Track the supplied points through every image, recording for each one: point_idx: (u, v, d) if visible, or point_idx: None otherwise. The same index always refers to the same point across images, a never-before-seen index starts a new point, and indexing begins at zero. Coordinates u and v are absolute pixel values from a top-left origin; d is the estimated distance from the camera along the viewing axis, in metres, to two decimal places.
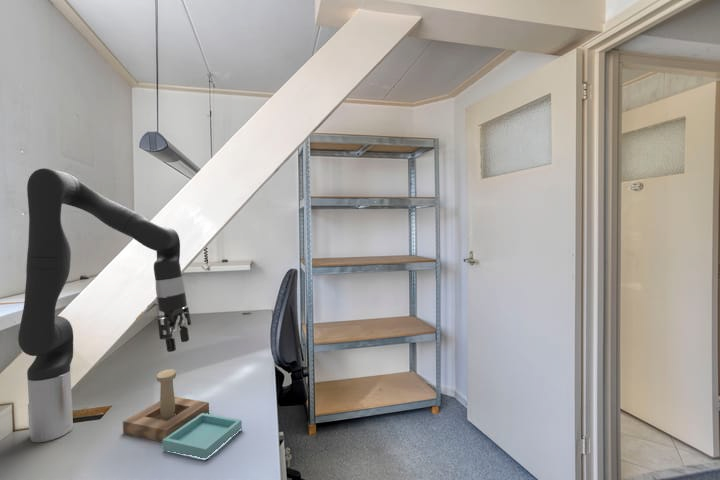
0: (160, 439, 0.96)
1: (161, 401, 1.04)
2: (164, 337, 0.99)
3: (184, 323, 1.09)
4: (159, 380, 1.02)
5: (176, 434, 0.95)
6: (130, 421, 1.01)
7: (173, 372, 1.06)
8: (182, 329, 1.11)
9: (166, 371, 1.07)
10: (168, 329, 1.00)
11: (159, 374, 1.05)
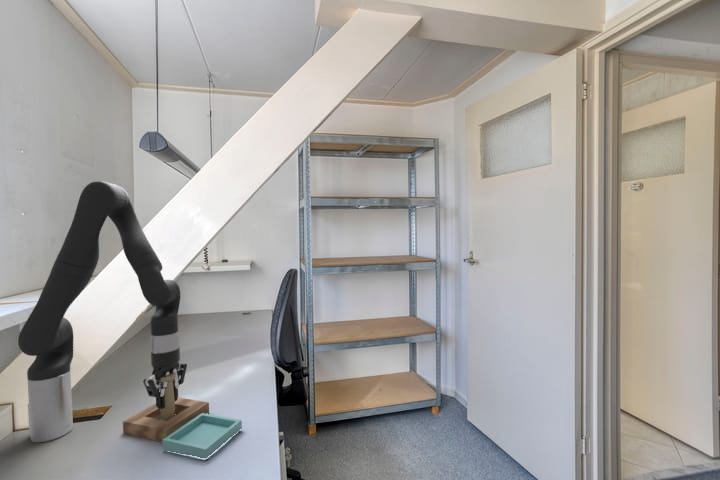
0: (160, 439, 0.96)
1: None
2: (152, 395, 1.01)
3: (174, 380, 1.07)
4: None
5: (176, 434, 0.95)
6: (130, 421, 1.01)
7: None
8: None
9: None
10: (154, 390, 1.00)
11: None
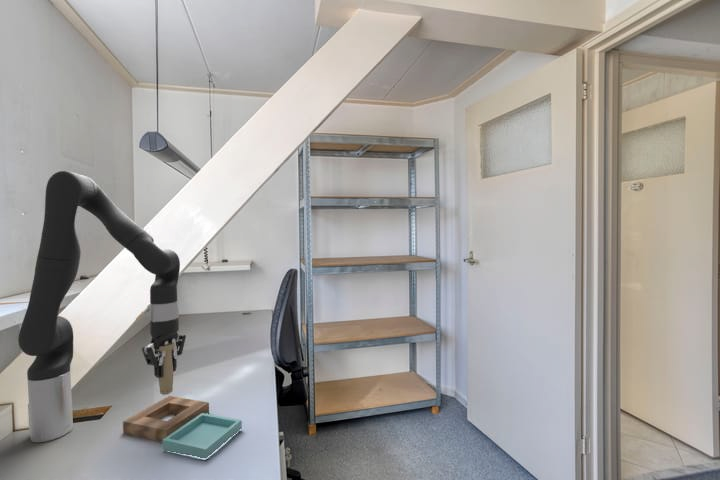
0: (160, 439, 0.96)
1: None
2: (150, 363, 1.01)
3: (172, 351, 1.06)
4: (158, 349, 1.02)
5: (176, 434, 0.95)
6: (130, 421, 1.01)
7: None
8: None
9: None
10: (153, 358, 1.00)
11: None
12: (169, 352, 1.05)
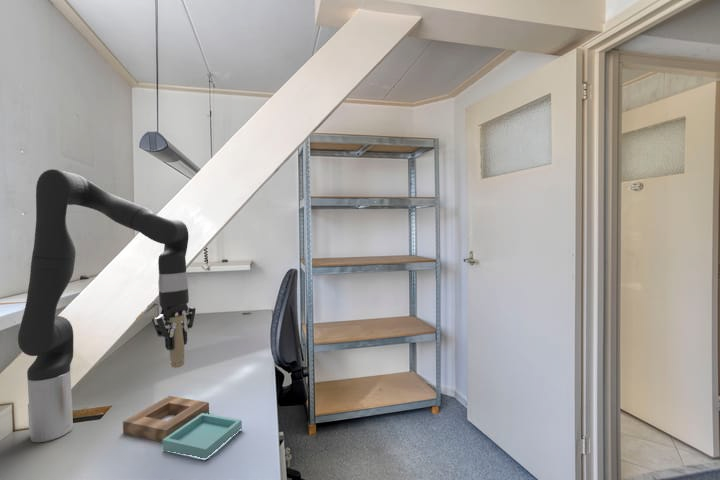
0: (160, 439, 0.96)
1: None
2: (161, 335, 0.98)
3: (183, 323, 1.04)
4: None
5: (176, 434, 0.95)
6: (130, 421, 1.01)
7: None
8: None
9: None
10: (163, 329, 0.97)
11: None
12: (179, 324, 1.02)
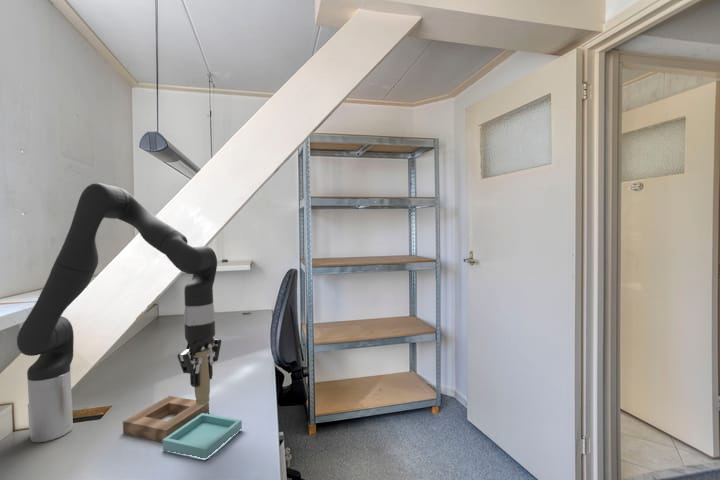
0: (160, 439, 0.96)
1: None
2: (187, 372, 0.91)
3: (209, 357, 0.97)
4: None
5: (176, 434, 0.95)
6: (130, 421, 1.01)
7: None
8: None
9: None
10: (189, 365, 0.91)
11: None
12: (205, 358, 0.96)
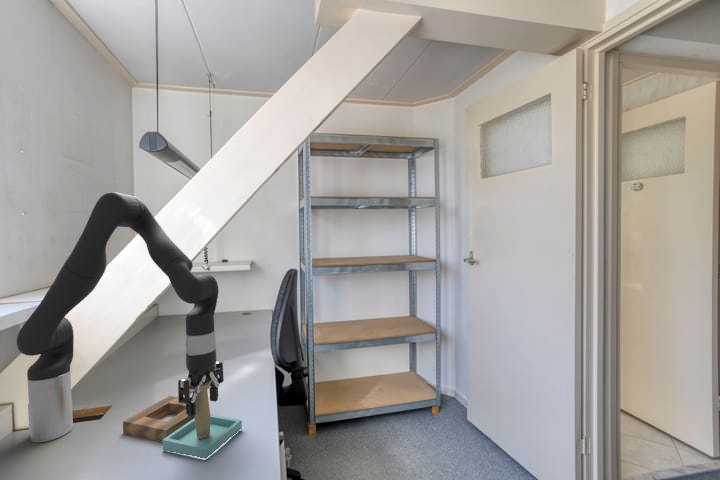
0: (160, 439, 0.96)
1: (196, 413, 0.95)
2: (182, 401, 0.90)
3: (213, 382, 0.98)
4: None
5: (176, 434, 0.95)
6: (130, 421, 1.01)
7: None
8: (212, 387, 1.00)
9: None
10: (187, 393, 0.90)
11: None
12: (205, 392, 0.96)
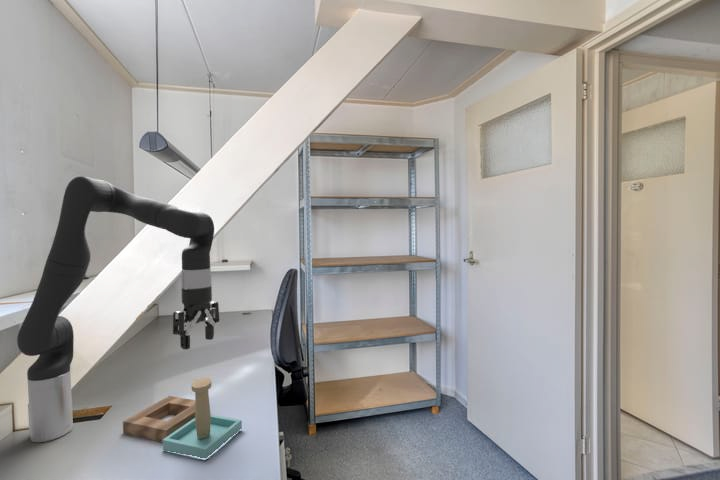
0: (160, 439, 0.96)
1: (196, 413, 0.95)
2: (176, 333, 0.90)
3: (208, 320, 0.99)
4: (195, 390, 0.93)
5: (176, 434, 0.95)
6: (130, 421, 1.01)
7: (209, 381, 0.97)
8: (207, 325, 1.01)
9: (201, 380, 0.98)
10: (181, 325, 0.90)
11: (194, 383, 0.96)
12: (206, 392, 0.96)
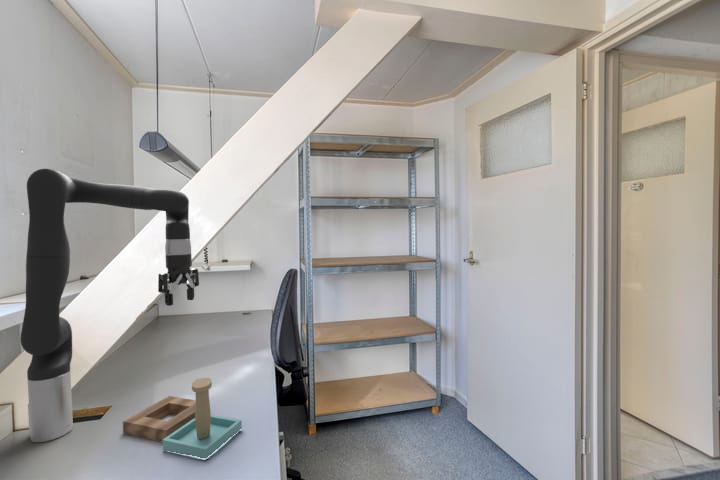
0: (160, 439, 0.96)
1: (196, 413, 0.95)
2: (161, 291, 1.09)
3: (189, 283, 1.18)
4: (195, 390, 0.93)
5: (176, 434, 0.95)
6: (130, 421, 1.01)
7: (209, 381, 0.97)
8: (189, 288, 1.19)
9: (201, 380, 0.98)
10: (165, 284, 1.09)
11: (194, 383, 0.96)
12: (206, 392, 0.96)
